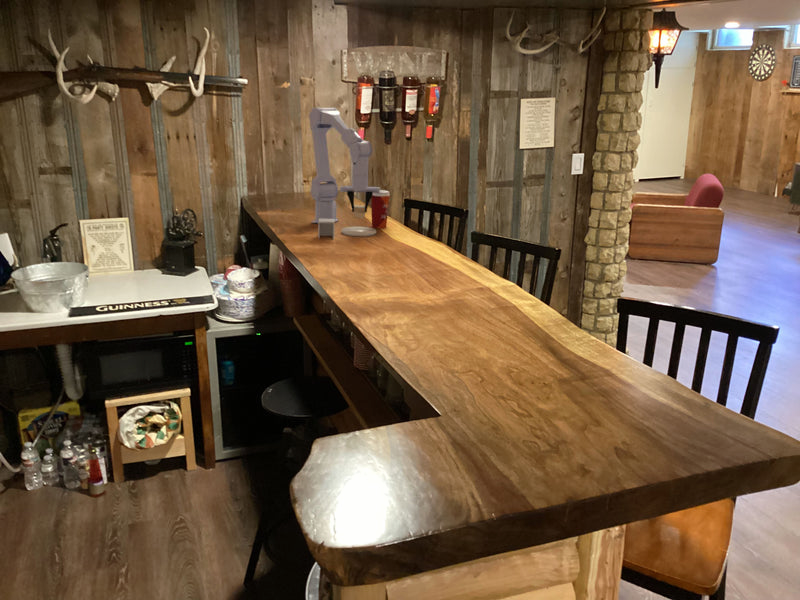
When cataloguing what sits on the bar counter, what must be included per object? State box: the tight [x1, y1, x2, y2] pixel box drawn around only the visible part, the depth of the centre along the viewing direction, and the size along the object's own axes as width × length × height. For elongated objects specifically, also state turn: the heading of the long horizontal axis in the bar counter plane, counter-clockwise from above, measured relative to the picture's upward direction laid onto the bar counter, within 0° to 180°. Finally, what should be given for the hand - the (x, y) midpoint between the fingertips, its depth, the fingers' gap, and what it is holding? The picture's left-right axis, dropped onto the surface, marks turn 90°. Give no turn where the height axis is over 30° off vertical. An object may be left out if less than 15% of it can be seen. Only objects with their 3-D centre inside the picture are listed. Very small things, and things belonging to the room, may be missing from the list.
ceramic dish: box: [341, 226, 377, 238], centre depth 261 cm, size 13×13×1 cm
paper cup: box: [370, 189, 391, 229], centre depth 271 cm, size 8×8×14 cm
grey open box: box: [317, 218, 336, 240], centre depth 251 cm, size 6×6×6 cm
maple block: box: [353, 204, 366, 219], centre depth 258 cm, size 4×4×4 cm
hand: (359, 211), depth 258 cm, fingers closed on maple block, 4 cm apart
